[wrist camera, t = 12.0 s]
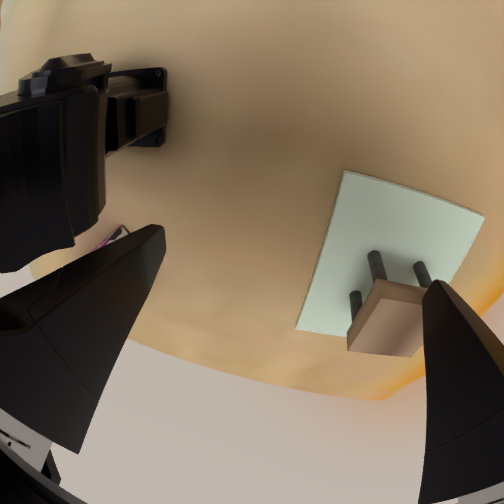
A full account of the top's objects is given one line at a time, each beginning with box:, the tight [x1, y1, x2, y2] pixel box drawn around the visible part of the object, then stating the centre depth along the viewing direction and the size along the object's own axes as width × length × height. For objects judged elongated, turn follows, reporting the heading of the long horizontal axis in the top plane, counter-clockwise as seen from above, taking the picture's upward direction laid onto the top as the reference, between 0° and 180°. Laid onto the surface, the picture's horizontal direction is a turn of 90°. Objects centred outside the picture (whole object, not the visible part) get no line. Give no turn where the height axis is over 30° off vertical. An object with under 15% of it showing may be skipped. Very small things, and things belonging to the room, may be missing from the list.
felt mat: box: [296, 170, 485, 337], centre depth 24 cm, size 14×18×1 cm
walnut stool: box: [347, 250, 432, 357], centre depth 21 cm, size 6×6×6 cm
